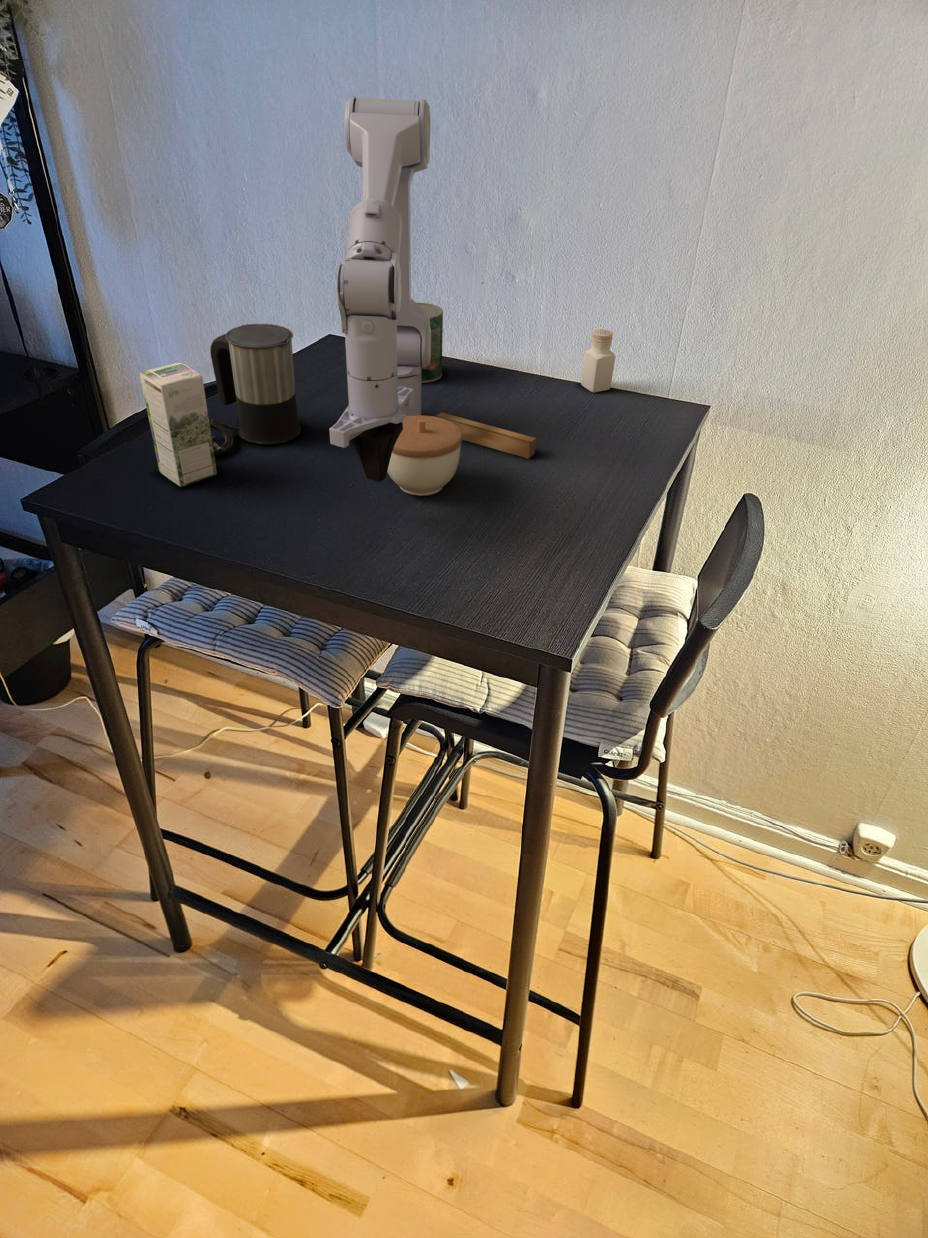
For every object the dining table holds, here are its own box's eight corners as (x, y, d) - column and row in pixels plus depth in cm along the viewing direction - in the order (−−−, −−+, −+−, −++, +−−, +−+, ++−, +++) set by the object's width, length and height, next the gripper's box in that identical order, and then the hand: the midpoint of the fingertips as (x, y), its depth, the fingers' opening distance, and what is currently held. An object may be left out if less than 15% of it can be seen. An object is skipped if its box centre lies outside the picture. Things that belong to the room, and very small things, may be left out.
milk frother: (311, 424, 128) (303, 327, 119) (266, 470, 116) (253, 366, 106) (227, 411, 130) (212, 315, 121) (174, 455, 118) (153, 352, 109)
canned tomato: (449, 370, 146) (451, 307, 140) (429, 386, 141) (430, 320, 134) (409, 362, 149) (409, 299, 142) (388, 377, 143) (387, 312, 136)
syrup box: (196, 460, 117) (178, 359, 108) (219, 475, 114) (202, 372, 105) (159, 473, 114) (137, 369, 105) (181, 489, 111) (160, 384, 102)
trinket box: (451, 509, 109) (453, 443, 103) (372, 498, 111) (369, 433, 105) (467, 471, 117) (469, 408, 112) (393, 461, 119) (392, 399, 113)
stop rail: (434, 431, 127) (434, 415, 125) (441, 427, 128) (441, 410, 127) (528, 458, 121) (530, 441, 119) (534, 453, 123) (536, 436, 121)
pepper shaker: (579, 385, 143) (586, 329, 138) (598, 381, 145) (606, 326, 139) (592, 394, 141) (599, 337, 135) (611, 390, 142) (620, 334, 136)
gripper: (364, 401, 88) (368, 512, 97) (435, 359, 98) (434, 463, 107) (311, 386, 91) (319, 495, 99) (385, 346, 101) (388, 449, 109)
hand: (375, 478), depth 103 cm, fingers closed
